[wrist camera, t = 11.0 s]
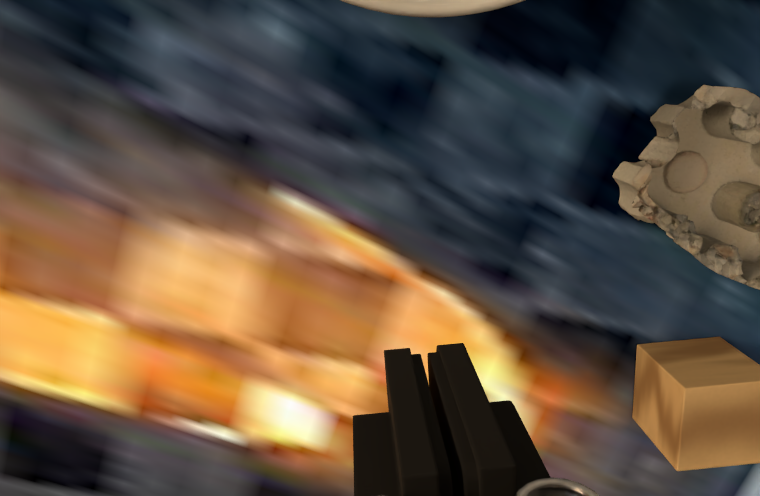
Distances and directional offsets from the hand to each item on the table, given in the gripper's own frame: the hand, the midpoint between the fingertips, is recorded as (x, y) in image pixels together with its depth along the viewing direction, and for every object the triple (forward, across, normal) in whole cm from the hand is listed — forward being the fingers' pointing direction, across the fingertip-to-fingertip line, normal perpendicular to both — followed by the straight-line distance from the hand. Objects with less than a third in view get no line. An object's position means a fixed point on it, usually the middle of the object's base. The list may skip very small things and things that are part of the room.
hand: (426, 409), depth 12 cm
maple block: (+19, -17, +12) cm, 28 cm away
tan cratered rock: (+19, -18, 0) cm, 26 cm away
